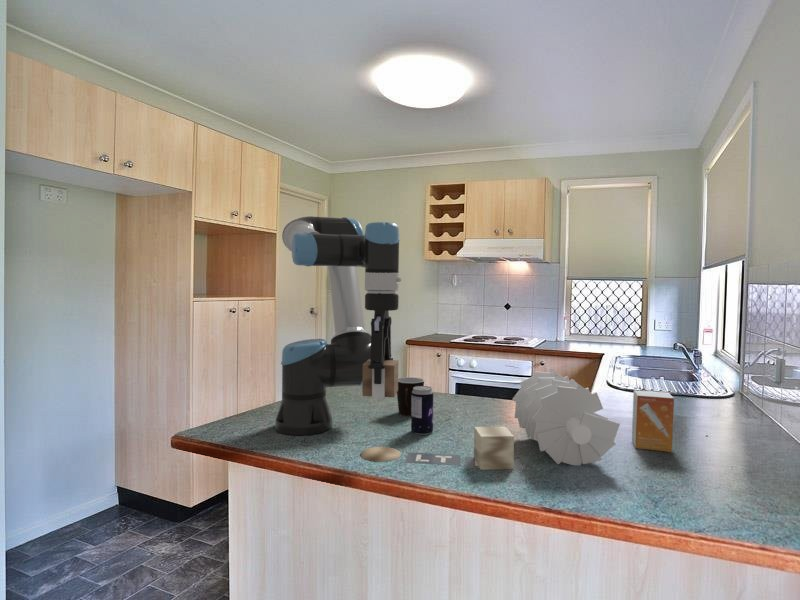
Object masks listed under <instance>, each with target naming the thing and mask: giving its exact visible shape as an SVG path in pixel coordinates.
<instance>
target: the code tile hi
mask: <svg viewBox="0 0 800 600" xmlns="http://www.w3.org/2000/svg"><path fill="white" fill-rule="evenodd" d="M464 460H465V461H464V462H465V463H464V466H465V467H464V468H469V469H470V468H471V469H480V468H479V466H478V464H477V462H476V461H475V459H474V456H465V457H464ZM502 470H504V471H507V470H509V471H522V472H523V471H524V468H523V466H522V463H521V460H520V459H516V458H514V469H502Z"/></svg>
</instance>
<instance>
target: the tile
mask: <svg viewBox="0 0 800 600" xmlns="http://www.w3.org/2000/svg"><path fill="white" fill-rule="evenodd" d="M461 456H462V455H461V454H449V453H448V454H443V453H425V452H409V451H408V452H407V455H406V456H405V457H406V458H405V461H404V463H405V464H407V463H408V464H409V463H410V464H425V465H443V466H444V465H445V466H448V465H449V466H459V467H460V466H461V461H462V460H461Z"/></svg>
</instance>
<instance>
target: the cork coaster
mask: <svg viewBox="0 0 800 600" xmlns="http://www.w3.org/2000/svg"><path fill="white" fill-rule="evenodd" d="M401 455H402V454H401V451H400V450H398V449H396V448H394V447H388V446H373V447H369V448H366V449H363V450H362V451H361V452H360V456H361V458H362V459H364V460H367V461H370V462H375V463H377V462H378V463H380V462H381V463H382V462H391V461H394V460H398V459H399V458H400V457H401Z"/></svg>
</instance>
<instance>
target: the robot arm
mask: <svg viewBox="0 0 800 600" xmlns="http://www.w3.org/2000/svg"><path fill="white" fill-rule="evenodd" d="M399 233H400V231H399V226H398V224H397V223H393V222H385V221H383V222H381V221H375V222H369V223H367V224H366V226H365V231H364V229H363V228H362V225H361V223H360V222H359V220H357V219H355V218H348V217H345V216H344V217H343V216H342V217H326V216H324V217H323V216H309V215H308V216H303V217H299V218H298V217H297V218H296V219H293V220H291V221H289V222H288V223H287V224H286V225H285V226H284V228H283V230H282V235H281V237H282V243H283V244H284V246H285V247H286V248H287V249H288V251H290V252H291V258H292V262H293V264H294V265H296V266H305V267H328V278H329V287H330V295H331V297H330V298H331V305H332V315H333V325H334V335H333V336H332V337H331V339H330V343H329V344H328V343H327V341H326V339H323V338H312V339H303V340H298V341H293V342H291V343H288V344H286V345H285V346H284V347H283V349H282V354H281V361H280V362H281V363H280V365H282V366H281V368H282V369H281V373H282V375H281V402H280V405H279V408H278V411H277V415H276V417H275V421H274V423H275V424H274V426H275V431H276V432H278V433H281V434H285V435H290V436H307V435H315V434H319V433H324V432H327V431H329V430H330V429H331V428H332V427H333V415H332V412H331V410H330V405H329V404H328V401H327V388H335V387H336V388H337V387H351V386H354V387H355V386H358V387H360V386H361V387H362V384H363V364H364V363H365V362H366V361H367V360H371V363H370V365H368V367H369V369H372V397H371V399H377V400H378V399H382V400H383V399H385V398H386V397H385V368H384V360H394V358H393V357H392V334H391V333H392V317H391V316H390V314H389V311H392V312H393V311H397V310H399V298H400V297H399V293H396V292H397V291H399V283H401V282H402V278H401V277H399V271H400V270H399V267H400V266H399V265H400V263H399V262H400V241H401V239H400V234H399ZM358 267H359V268H360V267H361V268H364V272H365V273H364V290H365V291H367V293H365V295H364V309H365V310H366V311H374V313H373V318H371V321H370V329H371V331H370V332H371V333H370V332H368V331H367V330H366V327H365V319H364V310H363V303H362V296H361V289H360V281H359V274H358ZM375 361H379V362H375Z"/></svg>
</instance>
